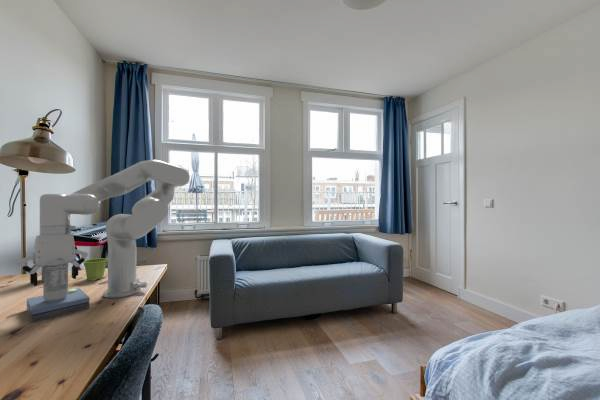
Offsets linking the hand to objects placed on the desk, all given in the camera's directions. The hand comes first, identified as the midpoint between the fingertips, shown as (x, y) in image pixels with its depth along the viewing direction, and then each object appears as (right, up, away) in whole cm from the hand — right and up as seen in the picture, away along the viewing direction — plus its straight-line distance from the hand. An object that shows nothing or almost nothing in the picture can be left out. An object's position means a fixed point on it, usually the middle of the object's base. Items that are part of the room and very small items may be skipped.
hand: (55, 281), depth 88 cm
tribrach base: (-1, -10, +2) cm, 10 cm away
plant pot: (-14, -10, +35) cm, 39 cm away
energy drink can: (0, -6, 0) cm, 6 cm away
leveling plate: (-1, -8, +2) cm, 8 cm away
